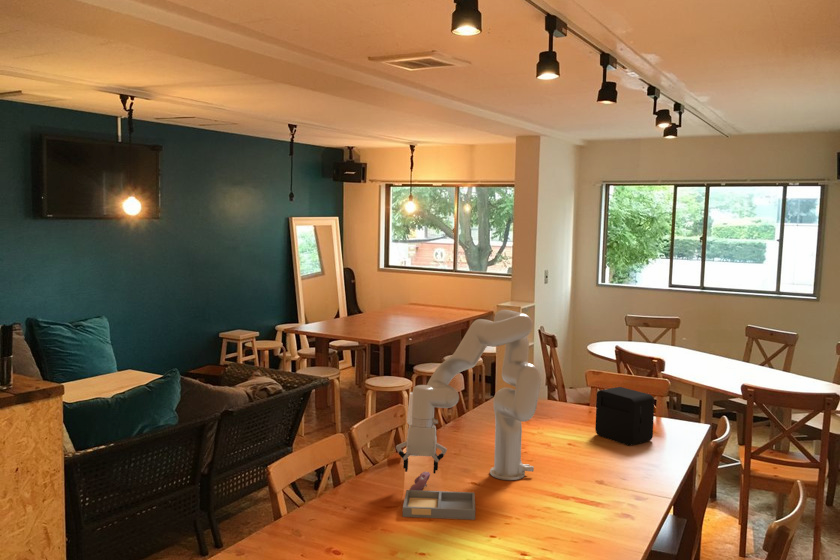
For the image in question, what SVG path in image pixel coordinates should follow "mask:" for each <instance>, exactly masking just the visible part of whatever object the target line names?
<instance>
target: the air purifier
mask: <svg viewBox="0 0 840 560" xmlns="http://www.w3.org/2000/svg"><path fill="white" fill-rule="evenodd" d="M595 400H596V402H595V406H596V408H595V433H596V435H597V436H598V437H601V438H604V439H607V440H610V441H613V442H616V443H619V444H622V445H624V446H629V447H630V446H635V445H638V444H641V443H645V442H650V441H651V440H652V439H653V437H654V419H655V418H654V414H655V398H654V396H653V395H652V394H650V393H646V392H642V391H638V390H633V389H630V388H626V387H622V386H618V387H611V388H607V389H600V390H597V393H596V399H595Z"/></svg>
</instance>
